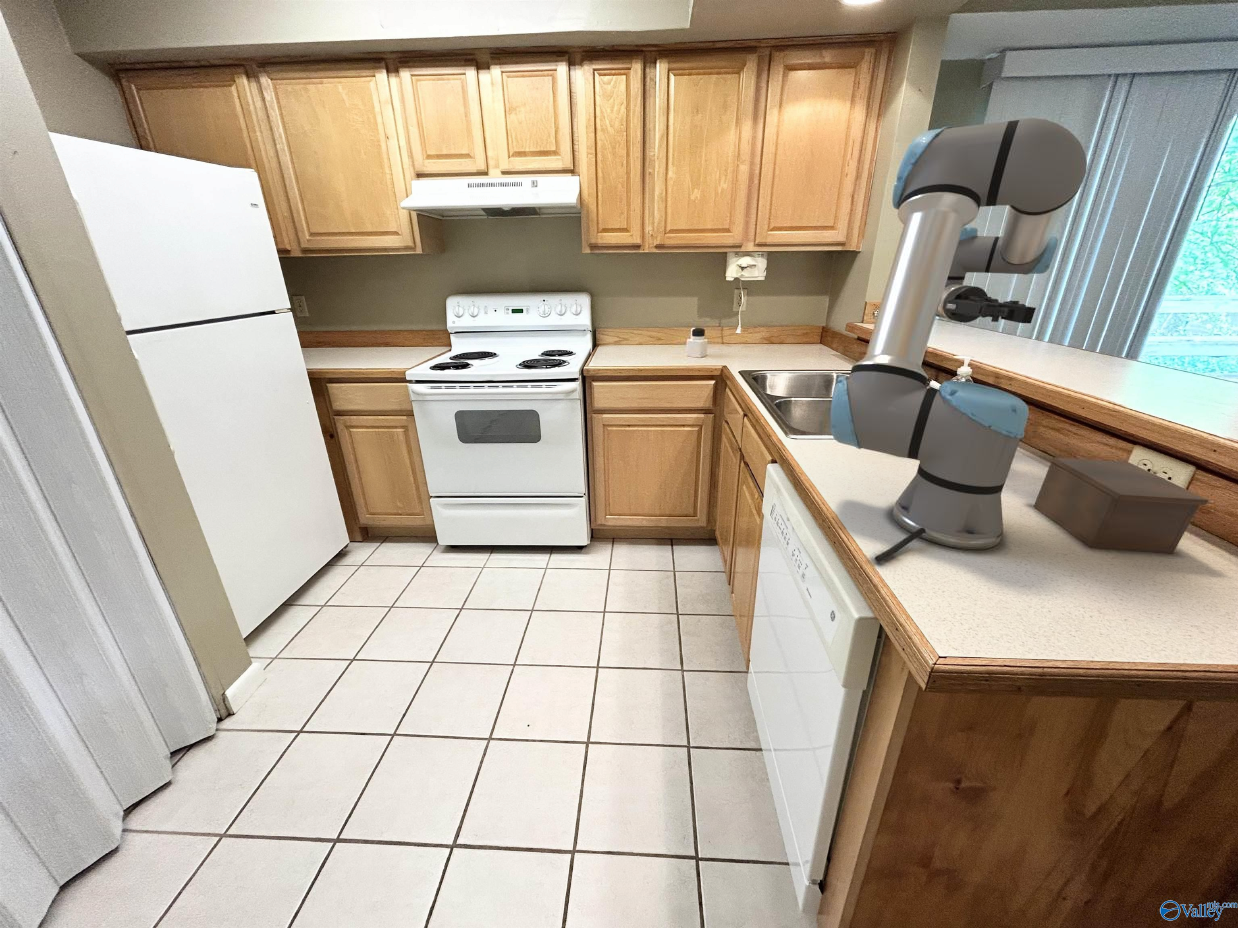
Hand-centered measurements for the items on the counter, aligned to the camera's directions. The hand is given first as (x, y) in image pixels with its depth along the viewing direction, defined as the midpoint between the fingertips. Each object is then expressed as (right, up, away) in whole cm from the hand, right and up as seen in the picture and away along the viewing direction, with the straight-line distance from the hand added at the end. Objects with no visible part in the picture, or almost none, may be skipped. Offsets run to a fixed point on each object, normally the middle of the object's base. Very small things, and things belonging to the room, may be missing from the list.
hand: (1028, 315), depth 86 cm
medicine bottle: (-39, +21, +130) cm, 137 cm away
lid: (+7, -29, -9) cm, 31 cm away
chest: (+7, -37, -5) cm, 38 cm away
